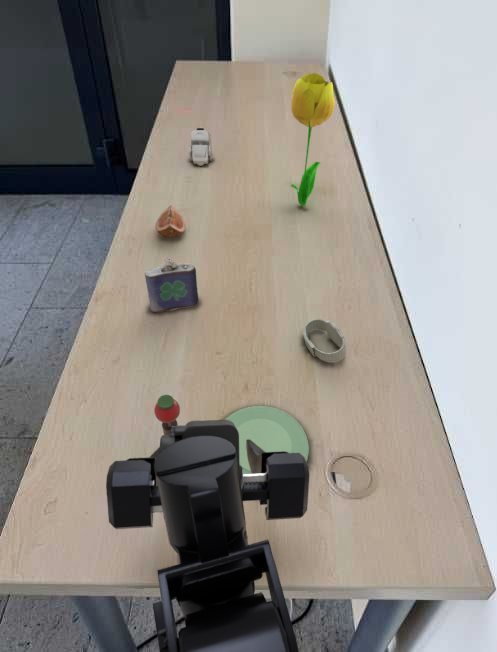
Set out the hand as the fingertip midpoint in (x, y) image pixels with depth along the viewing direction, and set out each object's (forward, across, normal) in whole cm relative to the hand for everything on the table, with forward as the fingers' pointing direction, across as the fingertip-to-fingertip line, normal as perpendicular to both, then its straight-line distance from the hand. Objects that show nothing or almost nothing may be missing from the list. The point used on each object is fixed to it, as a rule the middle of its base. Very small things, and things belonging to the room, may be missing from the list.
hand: (206, 444), depth 54 cm
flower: (+72, -26, -22) cm, 80 cm away
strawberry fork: (+14, +4, +11) cm, 18 cm away
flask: (+44, +5, -5) cm, 44 cm away
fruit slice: (+65, +6, -16) cm, 67 cm away
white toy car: (+96, -2, -33) cm, 102 cm away
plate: (+14, -8, +10) cm, 19 cm away
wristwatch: (+31, -21, 0) cm, 38 cm away
